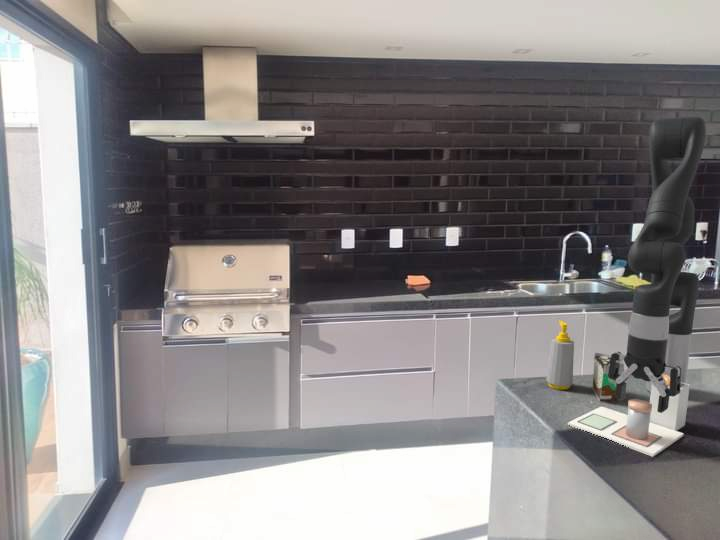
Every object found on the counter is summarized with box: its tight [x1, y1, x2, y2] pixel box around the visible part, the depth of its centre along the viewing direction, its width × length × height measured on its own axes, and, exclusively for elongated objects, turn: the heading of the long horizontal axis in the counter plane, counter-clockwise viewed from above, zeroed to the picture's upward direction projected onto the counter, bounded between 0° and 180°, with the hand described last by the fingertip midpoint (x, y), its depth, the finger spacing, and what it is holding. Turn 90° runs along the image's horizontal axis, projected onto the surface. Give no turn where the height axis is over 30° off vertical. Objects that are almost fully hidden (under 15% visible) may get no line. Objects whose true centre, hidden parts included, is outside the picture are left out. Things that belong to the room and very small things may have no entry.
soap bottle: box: [545, 320, 575, 391], centre depth 153 cm, size 7×7×18 cm
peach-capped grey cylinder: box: [626, 398, 652, 440], centre depth 123 cm, size 5×5×8 cm
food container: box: [592, 352, 625, 403], centre depth 147 cm, size 12×6×10 cm, turn 168°
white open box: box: [649, 382, 691, 431], centre depth 130 cm, size 6×6×10 cm
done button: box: [663, 374, 681, 387], centre depth 130 cm, size 4×4×2 cm
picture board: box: [567, 406, 684, 458], centre depth 127 cm, size 16×19×1 cm
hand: (640, 405), depth 122 cm, fingers open, 8 cm apart
